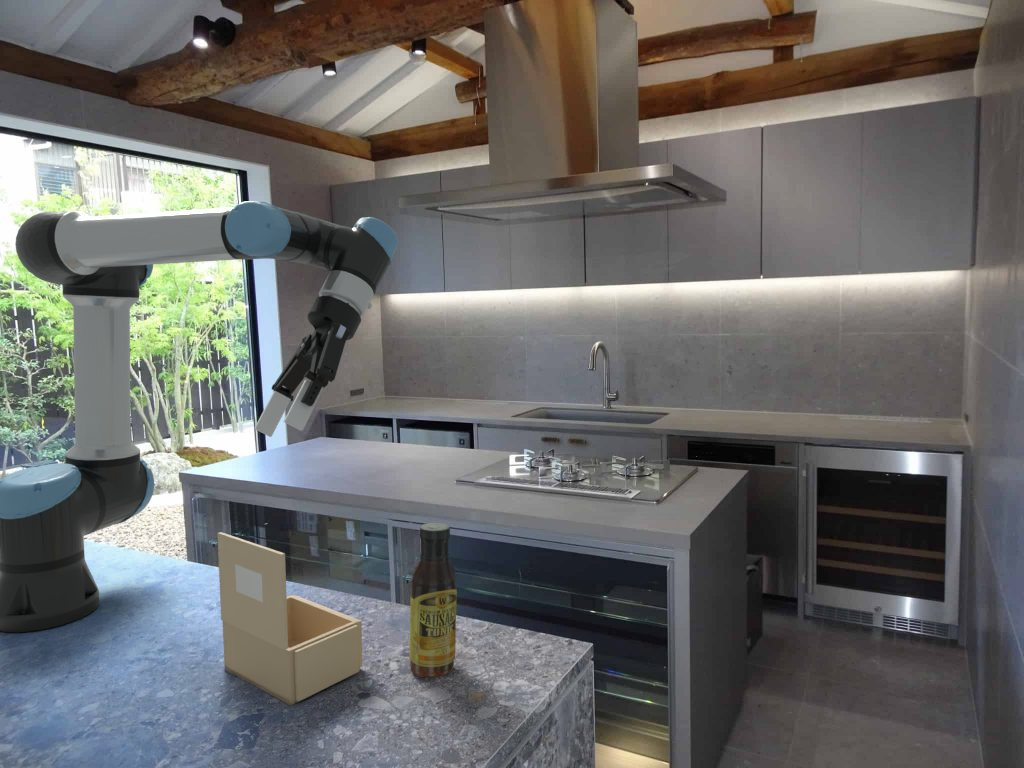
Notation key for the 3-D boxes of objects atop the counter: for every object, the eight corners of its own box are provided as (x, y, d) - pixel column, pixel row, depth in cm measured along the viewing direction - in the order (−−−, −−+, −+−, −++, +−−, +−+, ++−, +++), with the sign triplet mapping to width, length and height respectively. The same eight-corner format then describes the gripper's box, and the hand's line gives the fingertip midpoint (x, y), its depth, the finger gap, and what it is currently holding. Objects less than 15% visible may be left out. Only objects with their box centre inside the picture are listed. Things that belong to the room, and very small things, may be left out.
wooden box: (222, 668, 99) (220, 618, 98) (294, 638, 108) (292, 592, 107) (293, 707, 89) (291, 652, 88) (366, 670, 98) (365, 620, 97)
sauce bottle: (418, 685, 94) (416, 536, 92) (403, 664, 99) (400, 523, 98) (464, 673, 97) (463, 529, 95) (447, 654, 102) (445, 517, 101)
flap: (220, 620, 97) (216, 533, 96) (224, 618, 98) (220, 532, 96) (284, 650, 88) (280, 554, 87) (288, 648, 89) (285, 553, 88)
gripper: (396, 303, 103) (332, 436, 95) (330, 334, 123) (273, 445, 115) (352, 274, 100) (282, 409, 92) (291, 310, 120) (229, 424, 112)
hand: (276, 429), depth 103 cm, fingers open, 13 cm apart
